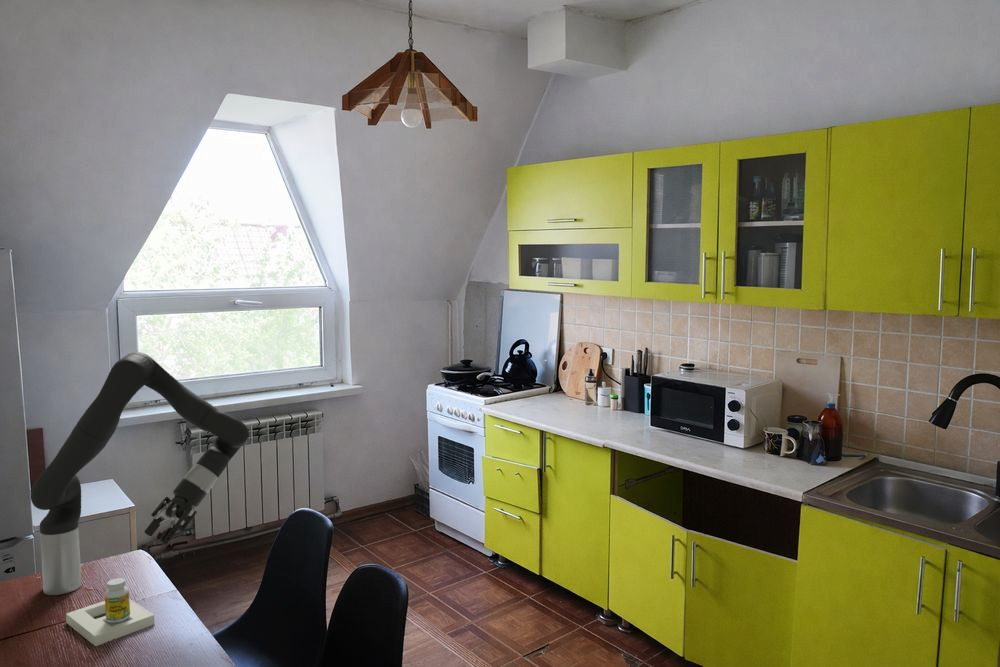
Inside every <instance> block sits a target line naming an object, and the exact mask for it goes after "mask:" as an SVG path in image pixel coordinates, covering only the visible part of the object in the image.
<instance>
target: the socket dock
mask: <svg viewBox="0 0 1000 667" xmlns="http://www.w3.org/2000/svg"><path fill="white" fill-rule="evenodd" d="M129 602H130V616H129V618H127V619H126V620H124V621H121V622H117V623H110V622H107V620H106V615H105V614H106V609H105V600H103V601H100V602H97V603H94V604H90V605H88V606H85V607H82V608H79V609H78V608H77V609H75V610H73V611H69V612H67V613H65V617H66V624H67V625H68V626H70V628H73V630H75V632H77V633H78V634H80V635H81V636H82V637H83V638H85V639H86V640H87V641H88V642H89V643H91V644H92V645H93V646H94V647H97V646H101V645H103V644H106V643H109V642H111V641H114V640H116V639H119V638H123V637H124V636H127V635H130V634H132V633H135V632H138V631H140V630H143V629H146V628H148V627H151V626H154V625H155V624H156V623H155V613H152V612H150V610H147V609H146V608H145V607H143V606H141V605H140V604H139V603H137V602H135V601H134V600H132V599H131V598H129ZM102 615H104V616H102ZM99 616H101V617H99ZM95 617H98V618H95ZM113 639H114V640H113ZM108 641H109V642H108Z"/></svg>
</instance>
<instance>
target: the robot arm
mask: <svg viewBox="0 0 1000 667" xmlns="http://www.w3.org/2000/svg"><path fill="white" fill-rule="evenodd" d="M143 387H147V388H149V389H150V390H153V391H154V392H156V393H157V394H159V395H160V396H162V397H163V398H164V399H165V400H166V401H167V403H168V404H169V405H170V406H171V407H172V409H173V410H174V411H175V413H177V414H178V415H179V416H180V417H182V418H183V419H184V420H186V421H187V422H189V423H190V424H192V425H194V426H195V427H196V428H198V429H200V430H201V431H204V432H208V433H211V434H212V435H213V436H215V437H216V438H215V440H214V441H213V443H212V444H211V445H210V447H209V448H208V449H207V450H205V452H204V453H203V454H202V455H201V457H200V458H199V459H198V460H197V462H196V463H195V464H194V465H193V466H192V467H191V468H190V470H188V472H187V473H186V474H185V475H184V476H183V478H182V479H181V481H180V482H179V483H178V484H177V485H176V487H175V488H174V489H173V491H172V493H173V495H174V497H172V499H171V498H169V497H168V496H165V497H164V498H163V500H162V501H161V502H160V503H159V505H158V506H157V507H156V508H155V509H154V510H153V512H152V513H151V515H150V516H152V521H151V522H150V523H149V525H148V526H147V527H146V529H144V533H145V535H147V536H148V537H152V536H153V535H154V534H155V533H156V531H158V528H159V527H160V526H161V524H163V523H164V522H166V521H170V524H169V526H168V527H167V528H166V530H165V531H164V533H163V534H162V535H161V536H160V537H159V542H161V543H162V544H164V545H167V544H168V543H170V541H171V539H172V538H173V537H174V536H175V534H176V533H178V532H184V531H185V530H186V528H187V527H188V526H189V525H190V522H191V521H192V520H193V518H194V517H195V516H196V514H197V510H196V509H194V508H197V507H199V505H200V504H201V503H202V501H203V500H204V499H205V498H206V496H207V494H209V492H210V490H211V489H212V488H213V487H214V486H215V484H216V481H217V480H218V478H219V477H220V476H221V474H222V473H223V472H224V471H225V470H226V468H227V466H228V465H229V462H230V461H231V460H232V459H233V457H234V456H235V454H236V453H237V452H238V451H239V450H240V449H241V448H242V446H243V445H244V444H245V443H246V442H247V441H248V439H249V436H250V432H249V428H248V426H247V425H246V424H245V423H244V422H243V421H241V420H240V419H237V418H236V417H235V416H233V415H232V416H231V414H227V413H226V412H223V411H221V410H220V409H218V408H217V407H216V406H214V405H213V404H211V403H209V402H208V401H207V400H205V399H203V398H202V397H200V396H199V395H197V394H196V393H194V392H193V391H191V390H190V388H189V389H188V388H187V387H186V386H184V384H182V383H181V382H180V381H178V379H176V378H175V377H174V376H173V375H171V373H169V372H168V371H167V370H166V369H164V367H162V365H160V364H159V363H158V362H157V361H156V360H155V359H153V357H151V356H149V355H148V354H146V353H145V352H141V351H134V352H130V353H128V354H127V355H125V356H123V357H121V358H120V359H119V360H118V361H116V362H115V363H114V364H113V366H112V367H111V369H110V371H109V372H108V375H107V377H106V379H105V381H104V383H103V385H102V387H101V390H100V391H99V393H98V394H97V396H96V397H95V398H94V400H93V401H92V402H91V403H90V405H89V406H88V407H87V409H86V410H85V412H83V414H82V415H81V417H80V418H79V419H78V421H77V423H76V424H75V426H74V427H73V428H72V430H71V432H70V434H69V435H68V437H67V438H66V440H65V442H64V443H63V444H62V446H61V447H60V448H59V451H58V452H57V454H56V455H55V457H54V458H53V460H52V461H51V463H50V464H48V466H47V467H46V468H45V470H43V472H42V473H41V474H40V475H39V477H38V478H37V479H35V480H36V481H35V482H34V483H33V484H32V486H31V489H30V500H31V503H32V505H33V506H34V507H35V508H36V509H39V510H41V511H47V510H48V512H47V514H46V515H45V516H44V517H43V518H42V519H41V521H40V523H39V535H40V536H39V537H40V553H41V573H42V574H41V575H42V590H43V591H42V592H43V593H44V595H48V596H59V595H65V594H68V593H71V592H74V591H76V590H78V589H79V588H80V587H81V586H82V571H81V570H82V569H81V551H80V550H81V549H80V532H79V531H80V530H79V529H80V528H79V520H80V518H81V515H82V486H81V482H80V480H79V477H78V475H77V474H78V473H79V472H80V471H81V470H82V469H84V468H85V467H86V466H87V465H88V464H89V463H90V462H92V461H93V459H94V458H96V457H97V456H98V455H99V454H100V453H101V452H102V450H104V448H105V447H106V446H107V444H108V442H109V441H110V439H112V437H113V435H114V433H115V432H116V430H117V428H118V424H119V423H120V420H121V416H122V413H123V411H124V409H125V407H127V405H128V403H129V402H130V401H131V400H132V398H133V397H134V396H135V395H136V394H137V393H138V392H139V391H140V390H141V389H142V388H143Z"/></svg>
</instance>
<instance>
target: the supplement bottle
mask: <svg viewBox="0 0 1000 667" xmlns="http://www.w3.org/2000/svg"><path fill="white" fill-rule="evenodd" d="M106 589H107V590H105V593H104V601H105V609H106V613H105V616H106V620H107V622H110V623H117V622H121V621H124V620H126V619H127V618H129V616H130V602H129V599H130V590H129V588H128V586H126V579H125V578H121V577H120V578H118V577H117V578H113V579H111V580H108V581H107V583H106Z"/></svg>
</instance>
